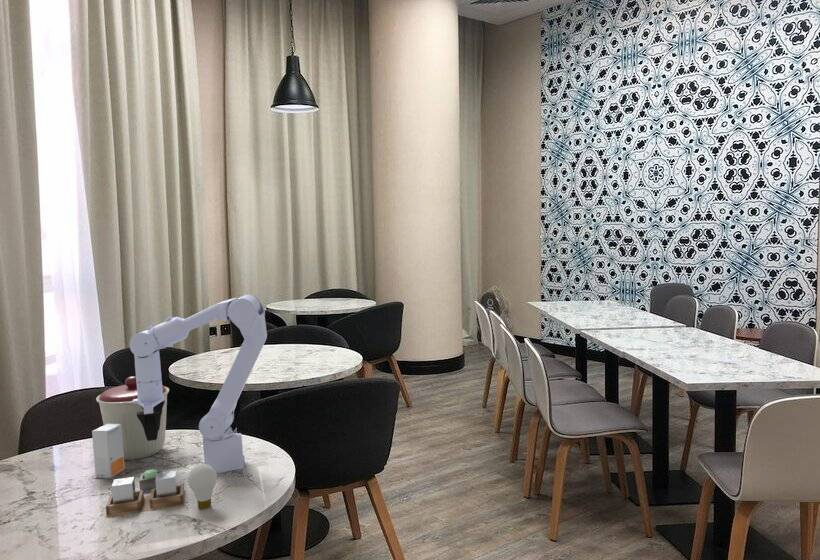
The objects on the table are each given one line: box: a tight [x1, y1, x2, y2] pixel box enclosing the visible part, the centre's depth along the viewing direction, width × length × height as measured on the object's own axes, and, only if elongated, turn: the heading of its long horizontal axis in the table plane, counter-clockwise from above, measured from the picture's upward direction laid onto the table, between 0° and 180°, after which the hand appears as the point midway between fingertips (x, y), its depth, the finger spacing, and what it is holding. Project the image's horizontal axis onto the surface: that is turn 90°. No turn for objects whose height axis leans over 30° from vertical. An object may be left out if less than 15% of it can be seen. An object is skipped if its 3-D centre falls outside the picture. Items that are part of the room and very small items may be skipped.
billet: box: [111, 476, 136, 504], centre depth 145 cm, size 4×4×6 cm
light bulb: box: [187, 463, 218, 510], centre depth 143 cm, size 6×6×10 cm
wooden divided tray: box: [104, 483, 186, 518], centre depth 146 cm, size 16×8×3 cm, turn 107°
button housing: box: [138, 470, 163, 492], centre depth 156 cm, size 5×5×4 cm
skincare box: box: [91, 424, 126, 479], centre depth 167 cm, size 6×4×12 cm
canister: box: [95, 375, 170, 461], centre depth 181 cm, size 18×18×21 cm
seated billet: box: [155, 470, 178, 498], centre depth 147 cm, size 4×4×6 cm
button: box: [143, 468, 158, 479], centre depth 156 cm, size 3×3×4 cm
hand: (153, 435), depth 165 cm, fingers open, 7 cm apart
